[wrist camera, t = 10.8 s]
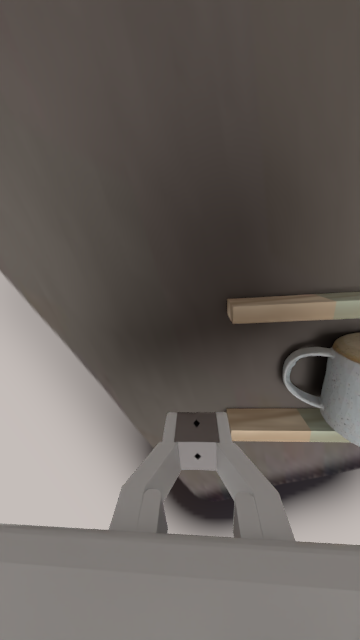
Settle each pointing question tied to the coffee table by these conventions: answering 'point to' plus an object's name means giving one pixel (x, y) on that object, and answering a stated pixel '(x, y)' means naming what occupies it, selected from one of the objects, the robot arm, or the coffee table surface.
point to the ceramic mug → (334, 385)
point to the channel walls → (287, 420)
